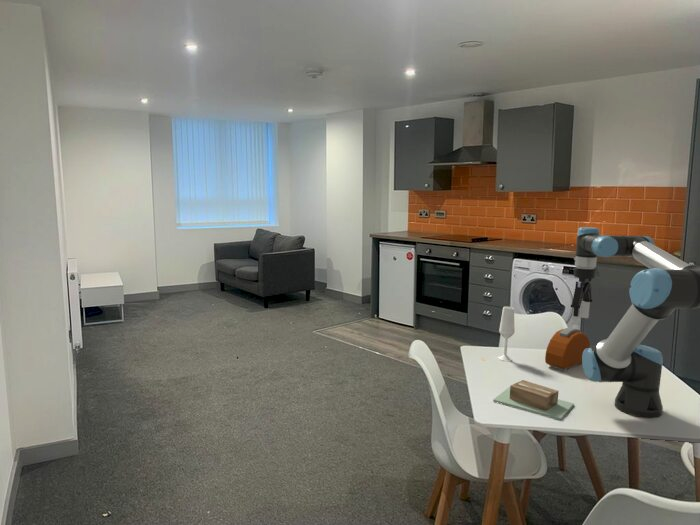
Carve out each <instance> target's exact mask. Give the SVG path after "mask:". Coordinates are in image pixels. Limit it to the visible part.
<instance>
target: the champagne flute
mask: <svg viewBox="0 0 700 525" xmlns="http://www.w3.org/2000/svg"><path fill="white" fill-rule="evenodd" d="M515 328H516V327H515V308H514V307H512V306H503V307H502V312H501V319H500V324H499V330H498V331H499V334H500V336H502V337H503V338H504V347H503V350H504V351H503V354H502V355H500V356H497V358H499V359H501V360H505V361H504V362H512V361H513V359H512V358H511V357H510V356H509V355H508V341H509V340H508V339H511V338H512V337H513V336H514V334H515V331H516V330H515ZM499 359H498V360H499ZM501 360H500V361H501ZM511 360H512V361H511Z"/></svg>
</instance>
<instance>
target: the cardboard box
mask: <svg viewBox="0 0 700 525" xmlns="http://www.w3.org/2000/svg"><path fill="white" fill-rule="evenodd" d="M509 387H510V399H512V400H515V401H518V402H521V403H524V404H527V405H530V406H532V407H535V408H538V409H541V410H544V411H546V410H548V409H550V408H552V407H553V406H555V405H557V404H558V399H559V390H557V389H554V388H550V387H547V386H543V385H540V384H537V383H534V382H531V381H528V380H524V379H522V380H519V381H517V382H515V383H513V384H511V385H510V386H509Z"/></svg>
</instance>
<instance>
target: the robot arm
mask: <svg viewBox="0 0 700 525" xmlns="http://www.w3.org/2000/svg"><path fill="white" fill-rule="evenodd" d="M598 257H600V258H611V257H631V258H632V259H634V260H635V261H637V262H638V263H640V264H642V265H644V266H645V267H646V268H647V269H646V268H645V269H642V270H641V271H638V272H637V273H635V275H634V276H633V277H632V279H631V281H630V284H629V285H630V287H629V292H628V293H629V297H630V300H631V302H630V303H631V305H630V306H629V308H628V309H627V310H626V312H625V314H624V315H623V316H622V318H621V319H620V321H619V322H618V323H617V324H616V326H615V328H614V329H613V330H612V332H611V333H610V334H609V336H608V337H607V338H606V339H602V340H600V341H599V342H598V343H597V344H596V346H595V347H594V348H593V347H590V348H587V349H585V350H584V351H583V354H582V363H581V364H582V369H583V372H584V374H585V376H586V378H587V379H588V380H589V381H591V382H595V383H597V382H598V383H622V384H621V386H620V389H619V391H618V393H617V395H616V397H615V399H614V406H615V407H616V409H617V410H619V411H620V412H623V413H624V414H628V415H631V416H635V417H638V418H640V417H641V418H647V419H648V418H649V419H654V418H656V419H657V418H659V417H662V415H663V413H664V412H663V411H664V410H663V409H664V408H663V403H662V399H661V395H660V387H661V386H660V385H661V377H662V369H663V366H664V362H663V361H664V360H663V359H664V358H663V353H662V352H661V351H660V350H658V349H656V348H654V347H652V346H648V345H644V344H641V343H642V341H643V340H644V339H646V337H647V335H649V333H650V332H651V330H653V328H654V327H655V326H656V324H657V323H658V322H659V321H663V320H666V319H668V318H669V317H670V316H671V315H672V314H673V312H674V311H675V310H677V309H678V310H679V309H680V310H683V309H685V310H687V309H688V310H695V309H700V265H697V264H689V263H687V262H685V261H683V260H682V259H680V258H678V257H676V256H675V255H673V254H671V253H669V252H668V251H666V250H663V249H662V248H660V247H658V246H656V244H655V241H654V240H653V238H652V237H650V236H646V235H645V236H644V235H613V234H611V235H607V234H606V235H604V234H600V229H599V227H591V226H590V227H586V226H582V227H578V230H577V236H576V246H575V257H574V258H573V260H574V266H575V267H574V268H573V277H574V278H578V281H575V286H574V287H575V289H574V292H573V298H572V301H571V304H570V308H572V314H571V315H572V317H571V325H576V326H580V323H581V319H583V318H584V319H589V317H590V316H589V314H590V305H591V303H593V297H592V279H593V280H594V279H595V277H596V271H597V270H596V267H597V259H598Z"/></svg>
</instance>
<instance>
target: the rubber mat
mask: <svg viewBox="0 0 700 525" xmlns="http://www.w3.org/2000/svg"><path fill="white" fill-rule="evenodd" d="M493 401H495V402H494V403H497V402H498V404H500V403H502V405H504V404H505V405H504V406H508V407H511V406H512V408H515V409H518V408H519V410H523V411H525V412H526V411H527V412H528V413H529V412H530V413H533V414H537V415H539V416H540V415H541V416H544V417H548V418H551V419H555V420H558V421H562V420H563V419H564V417H565V416H566V415H567V414H568V412H570V410H571V409H572V408H573V407H574V406H575V404H574V402H569V401H566V400H563V399H559V398H558V404H557V405H555V406H553V407H552V408H550V409H548V410H546V411H544V410H541V409H538V408H535V407H532V406H530V405H527V404H524V403H521V402H518V401H515V400H512V399H510V386H508V387H507V388H506V389H505V390H504V391H502V392H501V393H499V395H497V396H496V397H494V398H493Z"/></svg>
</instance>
